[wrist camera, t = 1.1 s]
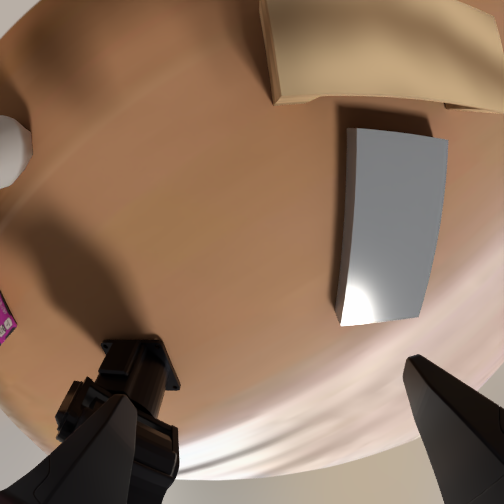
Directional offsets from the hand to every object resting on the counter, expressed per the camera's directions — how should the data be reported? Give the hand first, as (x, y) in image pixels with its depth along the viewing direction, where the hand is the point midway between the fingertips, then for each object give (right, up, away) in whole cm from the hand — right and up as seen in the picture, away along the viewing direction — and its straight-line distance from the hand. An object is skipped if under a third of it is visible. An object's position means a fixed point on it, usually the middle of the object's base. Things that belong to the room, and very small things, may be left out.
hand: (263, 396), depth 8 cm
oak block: (+8, +17, +7) cm, 20 cm away
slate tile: (+10, +6, +12) cm, 17 cm away
